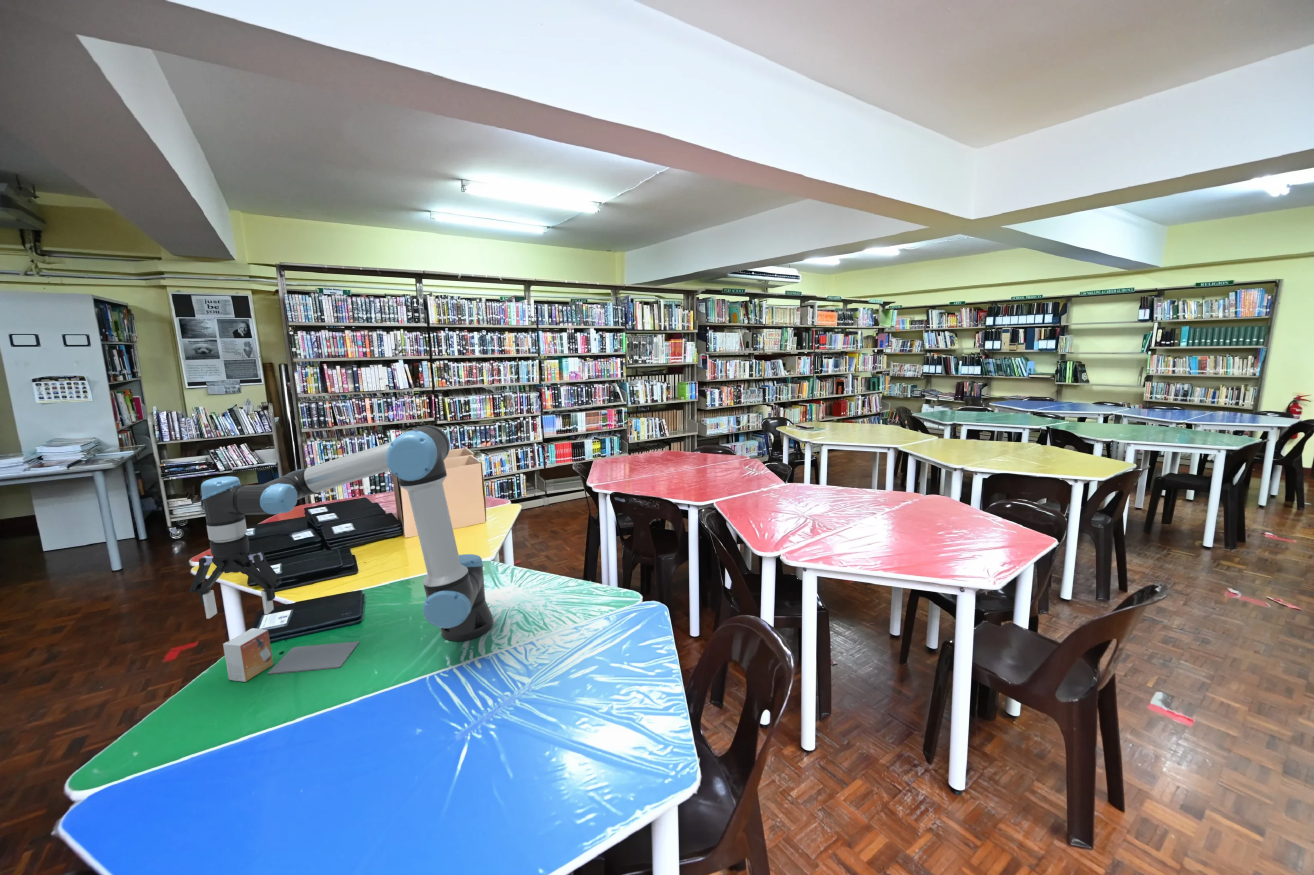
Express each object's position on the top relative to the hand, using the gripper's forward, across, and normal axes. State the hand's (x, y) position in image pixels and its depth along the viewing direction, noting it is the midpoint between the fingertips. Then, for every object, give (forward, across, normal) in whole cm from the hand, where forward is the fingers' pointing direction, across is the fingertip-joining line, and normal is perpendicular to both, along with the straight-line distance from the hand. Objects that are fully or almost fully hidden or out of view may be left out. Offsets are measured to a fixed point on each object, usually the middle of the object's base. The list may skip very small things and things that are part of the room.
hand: (240, 613), depth 132 cm
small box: (+17, 0, 0) cm, 17 cm away
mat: (+17, -14, -4) cm, 23 cm away
